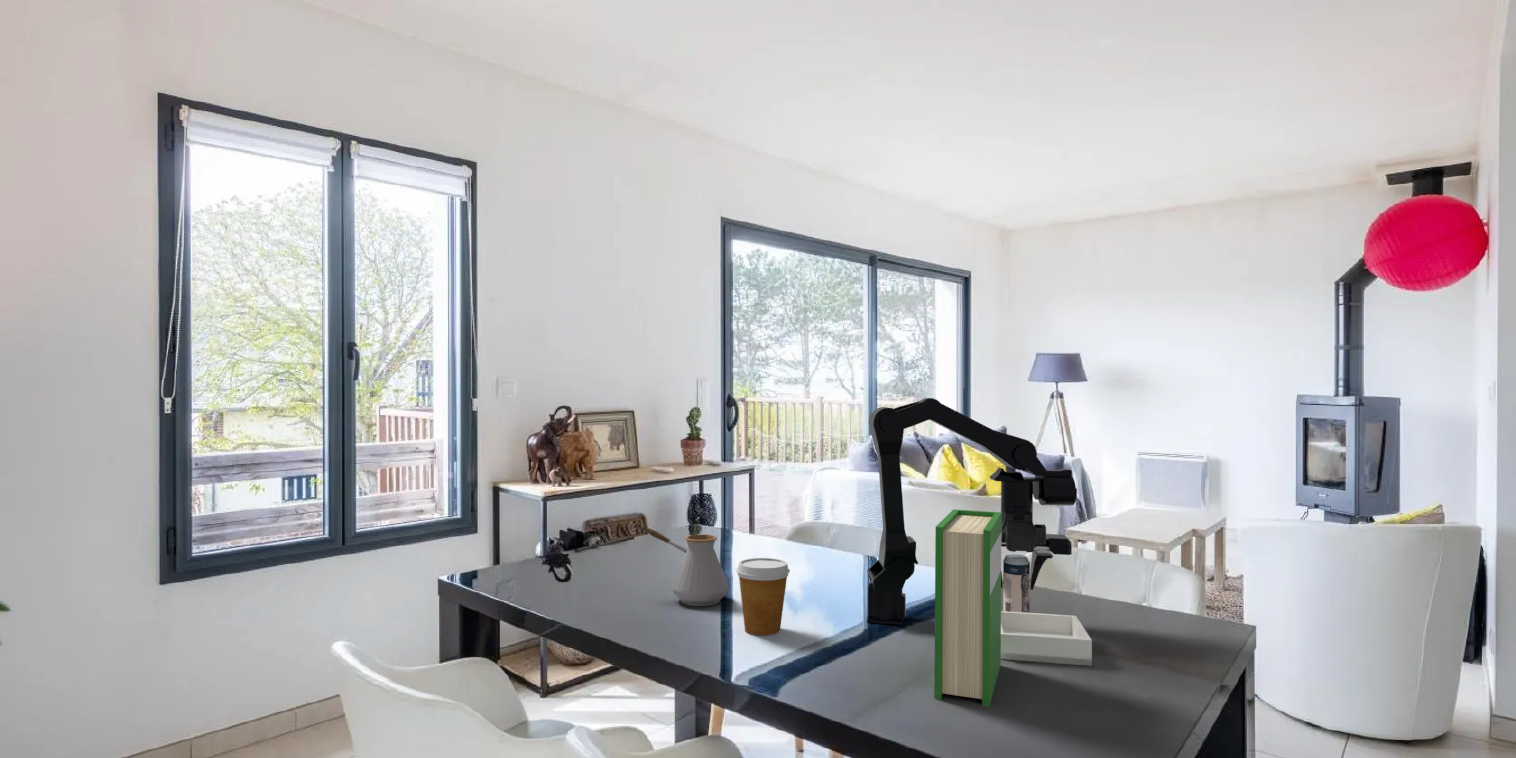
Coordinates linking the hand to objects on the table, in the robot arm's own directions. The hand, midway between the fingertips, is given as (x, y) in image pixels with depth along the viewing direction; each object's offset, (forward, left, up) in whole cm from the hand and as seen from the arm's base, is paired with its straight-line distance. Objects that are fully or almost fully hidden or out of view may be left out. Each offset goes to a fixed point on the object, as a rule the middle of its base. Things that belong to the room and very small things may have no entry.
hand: (1016, 588), depth 151 cm
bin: (+2, -16, -6) cm, 17 cm away
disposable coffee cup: (-45, -17, -6) cm, 49 cm away
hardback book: (-10, -34, -6) cm, 36 cm away
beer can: (0, 0, -6) cm, 6 cm away
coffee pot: (-66, 0, -6) cm, 66 cm away
